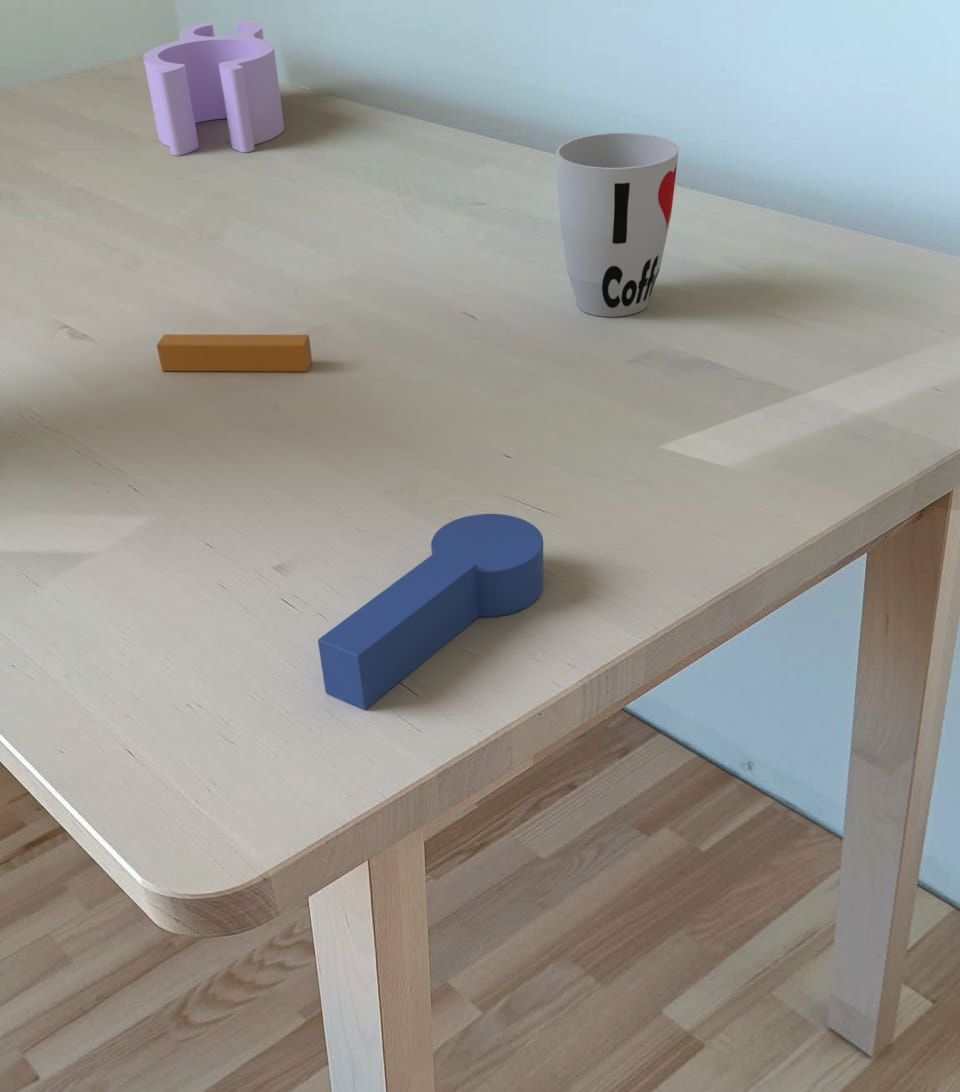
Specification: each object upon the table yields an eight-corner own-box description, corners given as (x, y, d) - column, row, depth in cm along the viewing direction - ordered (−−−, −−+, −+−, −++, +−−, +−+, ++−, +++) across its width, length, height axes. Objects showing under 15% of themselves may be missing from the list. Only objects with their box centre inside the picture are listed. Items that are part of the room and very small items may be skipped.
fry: (161, 371, 86) (156, 344, 84) (168, 360, 87) (163, 333, 86) (307, 372, 85) (303, 345, 84) (312, 360, 86) (308, 334, 85)
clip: (178, 100, 136) (165, 24, 131) (294, 95, 136) (285, 19, 131) (147, 157, 122) (130, 74, 117) (276, 151, 121) (265, 67, 117)
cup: (601, 335, 87) (605, 176, 80) (533, 300, 92) (532, 148, 85) (692, 306, 90) (704, 151, 83) (621, 273, 95) (627, 125, 88)
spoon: (392, 722, 57) (386, 667, 55) (299, 682, 60) (290, 628, 58) (564, 577, 65) (565, 525, 63) (476, 547, 68) (473, 496, 66)
